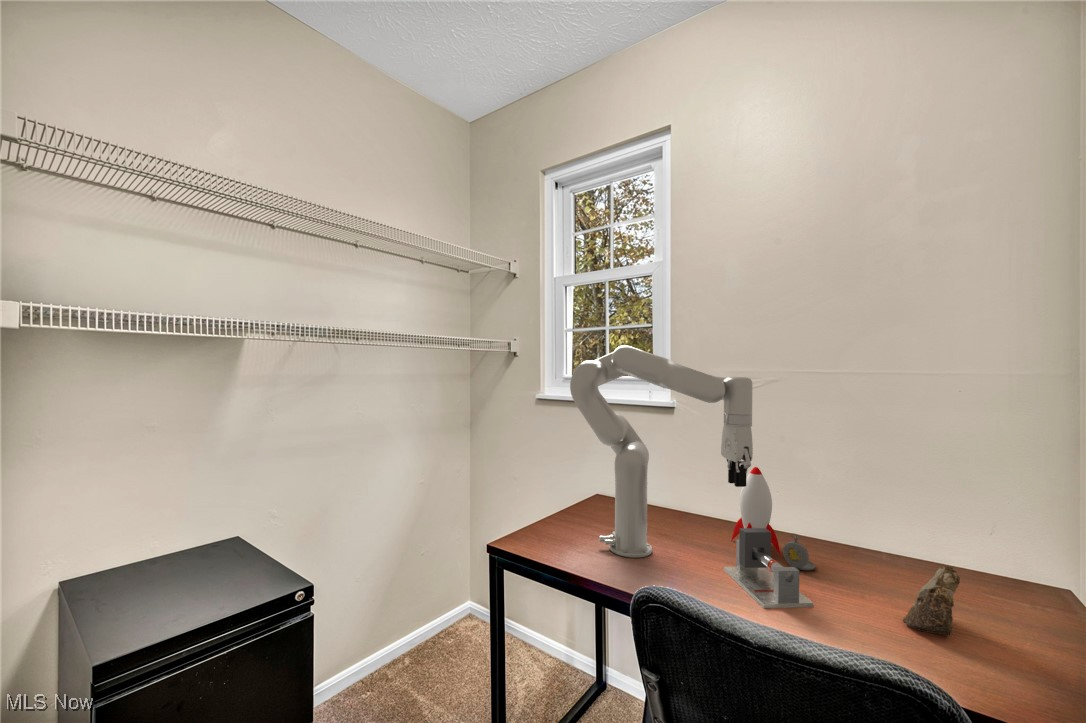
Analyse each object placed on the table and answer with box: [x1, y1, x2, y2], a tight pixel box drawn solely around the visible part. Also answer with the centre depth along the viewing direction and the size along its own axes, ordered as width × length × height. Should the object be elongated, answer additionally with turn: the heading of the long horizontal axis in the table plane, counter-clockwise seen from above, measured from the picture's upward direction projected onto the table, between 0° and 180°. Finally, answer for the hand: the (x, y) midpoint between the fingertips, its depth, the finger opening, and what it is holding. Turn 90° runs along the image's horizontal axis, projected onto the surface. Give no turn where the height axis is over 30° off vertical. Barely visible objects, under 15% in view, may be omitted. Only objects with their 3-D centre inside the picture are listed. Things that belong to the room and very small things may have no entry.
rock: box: [902, 565, 961, 637], centre depth 101 cm, size 15×8×15 cm
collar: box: [738, 528, 772, 568], centre depth 123 cm, size 7×3×9 cm, turn 94°
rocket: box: [731, 466, 782, 557], centre depth 144 cm, size 11×11×25 cm
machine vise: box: [723, 538, 814, 609], centre depth 118 cm, size 12×20×8 cm, turn 4°
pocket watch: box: [782, 533, 816, 571], centre depth 130 cm, size 8×8×10 cm
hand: (737, 484), depth 133 cm, fingers open, 3 cm apart
